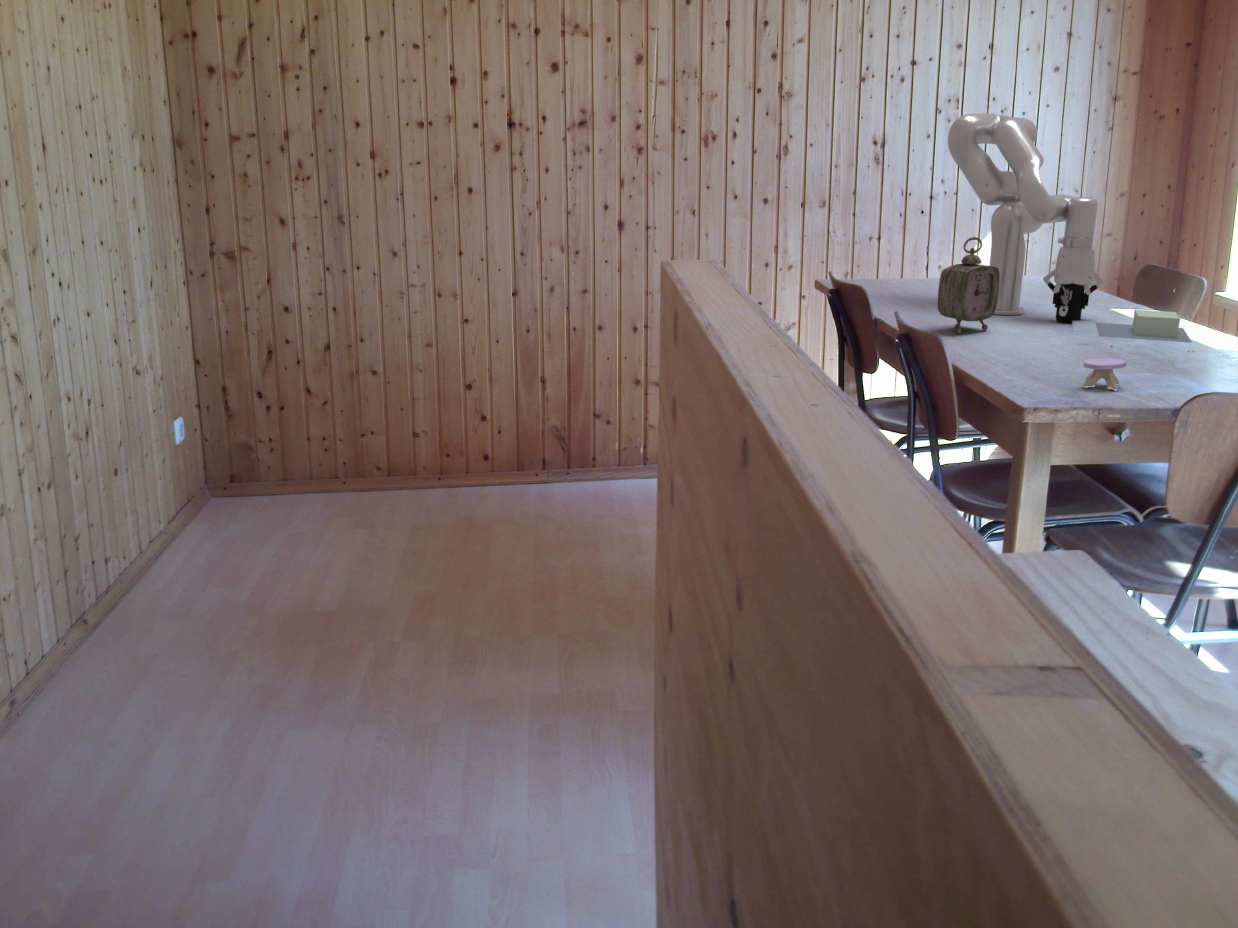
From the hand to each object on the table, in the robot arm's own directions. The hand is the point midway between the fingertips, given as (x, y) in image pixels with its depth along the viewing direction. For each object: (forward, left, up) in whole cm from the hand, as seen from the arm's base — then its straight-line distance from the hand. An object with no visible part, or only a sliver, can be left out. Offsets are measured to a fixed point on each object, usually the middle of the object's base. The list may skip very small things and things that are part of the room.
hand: (1069, 307), depth 316 cm
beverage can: (0, 0, -4) cm, 4 cm away
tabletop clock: (-27, -24, -4) cm, 36 cm away
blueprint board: (+18, -14, -4) cm, 23 cm away
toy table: (+5, -78, -5) cm, 78 cm away
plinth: (+21, -14, -3) cm, 25 cm away
